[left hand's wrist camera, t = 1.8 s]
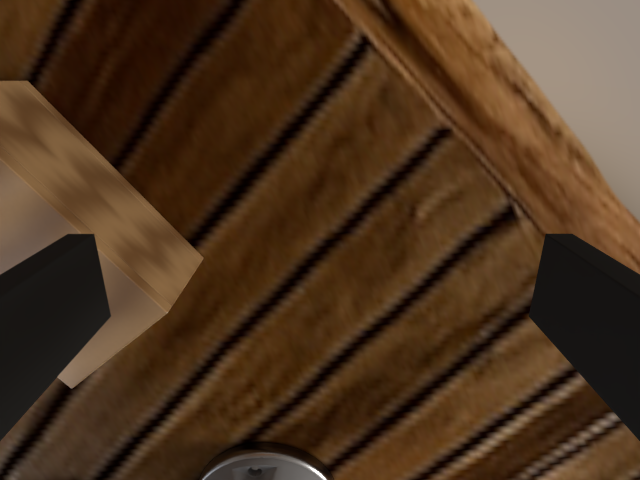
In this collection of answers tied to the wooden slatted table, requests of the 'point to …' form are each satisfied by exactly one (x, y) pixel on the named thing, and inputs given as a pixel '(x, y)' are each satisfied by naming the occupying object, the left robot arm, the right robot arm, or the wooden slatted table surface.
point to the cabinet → (85, 221)
